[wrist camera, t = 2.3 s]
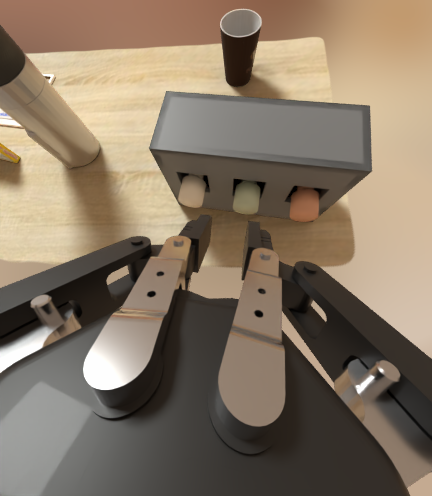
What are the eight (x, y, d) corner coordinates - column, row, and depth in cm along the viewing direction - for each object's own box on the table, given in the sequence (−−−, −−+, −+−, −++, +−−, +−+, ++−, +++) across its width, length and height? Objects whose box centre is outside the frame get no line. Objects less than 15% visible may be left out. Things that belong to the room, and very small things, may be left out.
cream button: (203, 208, 32) (200, 197, 28) (181, 205, 32) (175, 194, 29) (210, 173, 34) (208, 158, 30) (189, 171, 34) (184, 155, 30)
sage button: (255, 215, 31) (260, 204, 27) (232, 212, 32) (233, 201, 28) (260, 179, 33) (265, 164, 29) (238, 176, 33) (239, 161, 29)
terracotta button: (311, 223, 30) (323, 212, 26) (286, 219, 31) (294, 209, 27) (313, 185, 32) (325, 170, 28) (289, 182, 32) (298, 167, 28)
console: (312, 221, 38) (371, 171, 22) (179, 204, 40) (149, 148, 25) (314, 178, 40) (370, 105, 24) (188, 165, 43) (166, 91, 27)
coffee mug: (239, 95, 47) (243, 43, 37) (214, 79, 48) (211, 26, 39) (268, 67, 48) (279, 11, 39) (243, 53, 50) (247, -4, 40)
